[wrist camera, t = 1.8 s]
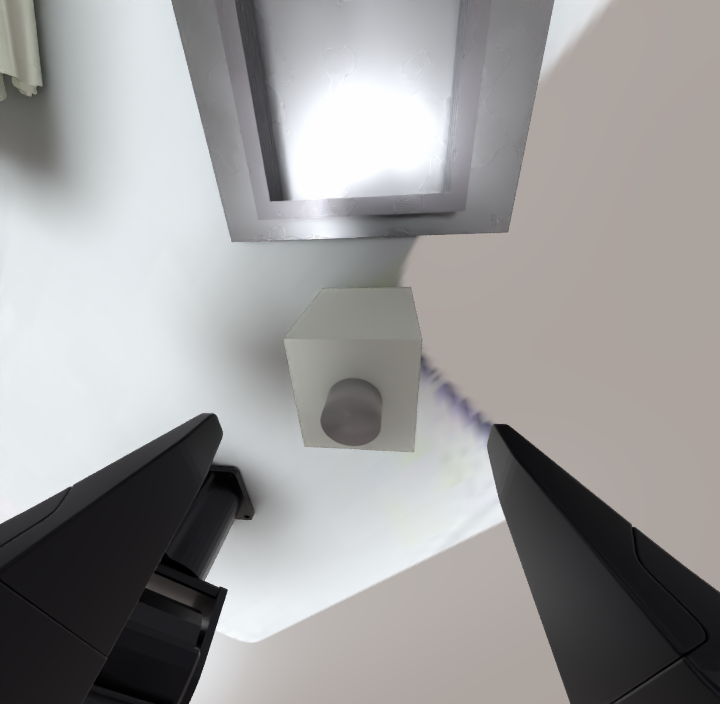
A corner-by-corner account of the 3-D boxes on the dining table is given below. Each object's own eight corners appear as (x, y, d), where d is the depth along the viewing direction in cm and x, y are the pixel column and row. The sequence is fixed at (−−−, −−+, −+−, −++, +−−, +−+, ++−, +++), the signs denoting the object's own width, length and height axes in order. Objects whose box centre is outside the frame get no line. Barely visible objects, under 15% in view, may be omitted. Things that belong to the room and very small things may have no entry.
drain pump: (406, 370, 16) (416, 478, 10) (332, 369, 17) (295, 471, 10) (410, 286, 14) (426, 359, 7) (323, 288, 14) (269, 356, 8)
